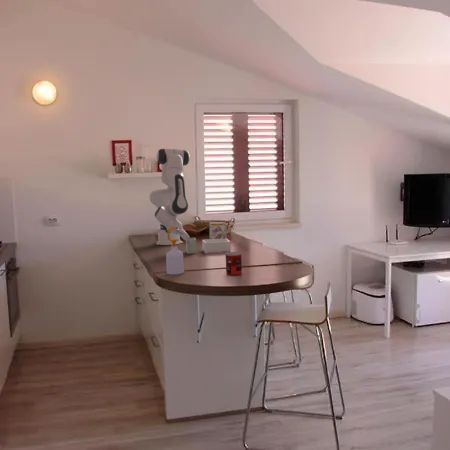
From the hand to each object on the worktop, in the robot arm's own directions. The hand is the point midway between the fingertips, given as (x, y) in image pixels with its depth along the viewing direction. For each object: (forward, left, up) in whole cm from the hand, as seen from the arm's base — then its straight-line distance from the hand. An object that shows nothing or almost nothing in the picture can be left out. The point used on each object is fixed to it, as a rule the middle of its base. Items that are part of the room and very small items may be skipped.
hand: (191, 241), depth 354 cm
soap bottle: (+61, -16, -7) cm, 63 cm away
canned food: (+74, +13, -7) cm, 76 cm away
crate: (+1, +15, -7) cm, 17 cm away
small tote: (0, -1, -7) cm, 7 cm away
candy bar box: (-17, +19, -7) cm, 27 cm away
